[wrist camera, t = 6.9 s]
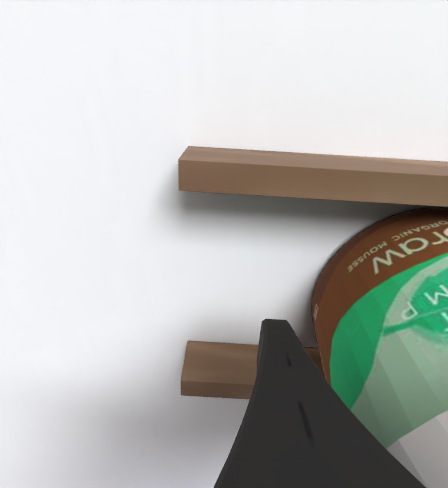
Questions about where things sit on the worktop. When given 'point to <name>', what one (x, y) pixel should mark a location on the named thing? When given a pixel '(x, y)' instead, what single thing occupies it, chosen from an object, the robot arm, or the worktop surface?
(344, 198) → the rail frame
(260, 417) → the robot arm
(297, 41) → the worktop surface
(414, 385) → the food container
